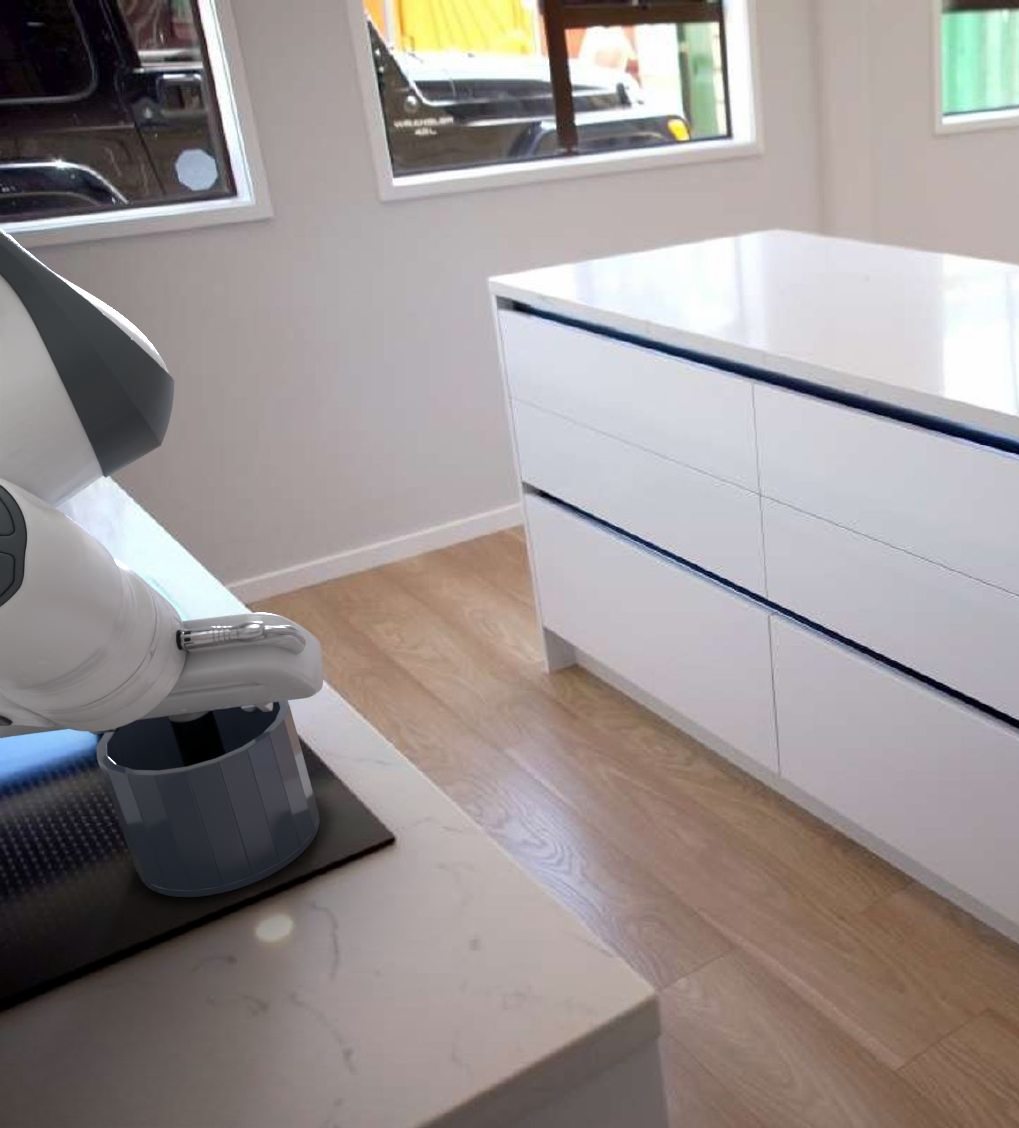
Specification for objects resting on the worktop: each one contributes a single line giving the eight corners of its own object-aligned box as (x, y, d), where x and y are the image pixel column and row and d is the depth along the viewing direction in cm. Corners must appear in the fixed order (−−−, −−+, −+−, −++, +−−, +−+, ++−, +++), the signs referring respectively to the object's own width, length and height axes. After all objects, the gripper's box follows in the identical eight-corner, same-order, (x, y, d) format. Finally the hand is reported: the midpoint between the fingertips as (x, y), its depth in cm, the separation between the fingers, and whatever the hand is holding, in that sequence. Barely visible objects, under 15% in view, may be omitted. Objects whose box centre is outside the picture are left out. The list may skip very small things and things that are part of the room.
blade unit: (149, 868, 86) (105, 740, 81) (207, 804, 92) (169, 683, 88) (251, 869, 85) (212, 741, 81) (302, 805, 91) (269, 683, 87)
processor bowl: (99, 873, 86) (56, 754, 82) (239, 781, 96) (205, 669, 92) (222, 915, 82) (182, 790, 78) (355, 813, 91) (326, 698, 87)
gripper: (288, 571, 74) (349, 644, 87) (-102, 616, 71) (21, 685, 83) (290, 676, 72) (352, 735, 84) (-112, 727, 68) (16, 780, 81)
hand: (185, 711), depth 84 cm, fingers open, 8 cm apart
